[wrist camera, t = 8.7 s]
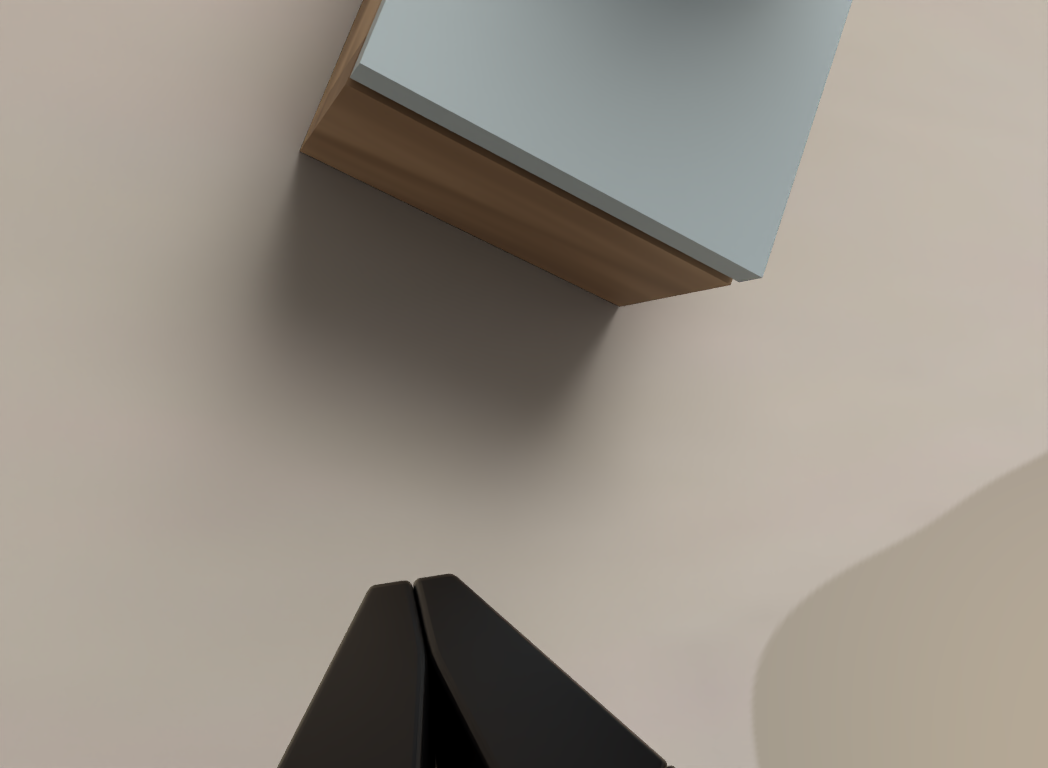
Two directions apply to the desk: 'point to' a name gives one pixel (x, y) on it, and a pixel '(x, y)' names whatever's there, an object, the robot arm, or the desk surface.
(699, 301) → the desk surface
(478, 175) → the box
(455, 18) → the lid
